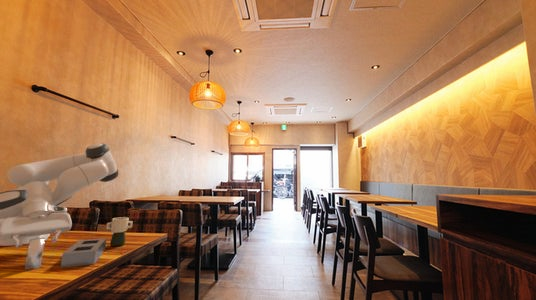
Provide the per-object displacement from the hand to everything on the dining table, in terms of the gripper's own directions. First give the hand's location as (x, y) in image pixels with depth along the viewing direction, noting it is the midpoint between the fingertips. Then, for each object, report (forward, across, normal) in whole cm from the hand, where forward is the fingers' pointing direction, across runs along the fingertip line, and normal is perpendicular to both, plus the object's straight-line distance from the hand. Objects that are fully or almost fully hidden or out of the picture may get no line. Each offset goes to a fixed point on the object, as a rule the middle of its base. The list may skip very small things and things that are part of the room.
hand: (37, 243), depth 84 cm
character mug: (0, +30, +11) cm, 32 cm away
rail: (+8, +15, +4) cm, 17 cm away
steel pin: (+7, -1, +4) cm, 8 cm away
